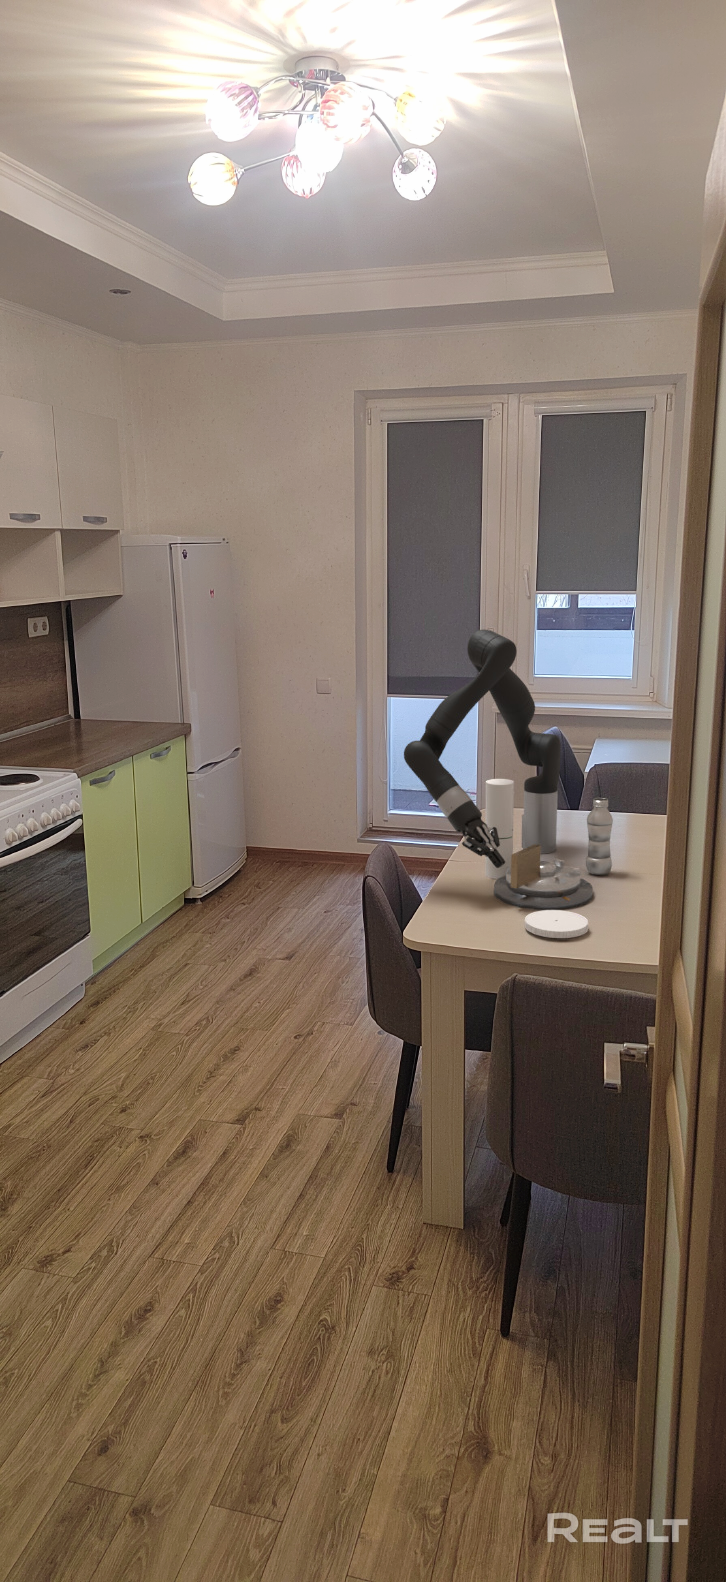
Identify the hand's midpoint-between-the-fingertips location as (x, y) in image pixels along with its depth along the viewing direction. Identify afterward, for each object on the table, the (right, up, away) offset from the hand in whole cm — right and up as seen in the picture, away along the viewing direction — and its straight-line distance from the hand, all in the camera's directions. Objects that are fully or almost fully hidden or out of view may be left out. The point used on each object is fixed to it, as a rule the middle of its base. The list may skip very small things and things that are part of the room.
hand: (501, 865), depth 248 cm
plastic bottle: (+28, -4, +23) cm, 37 cm away
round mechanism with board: (+10, -6, +6) cm, 13 cm away
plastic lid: (+10, -14, -16) cm, 23 cm away
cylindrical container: (+2, -4, +24) cm, 24 cm away
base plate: (+11, -8, +9) cm, 16 cm away
